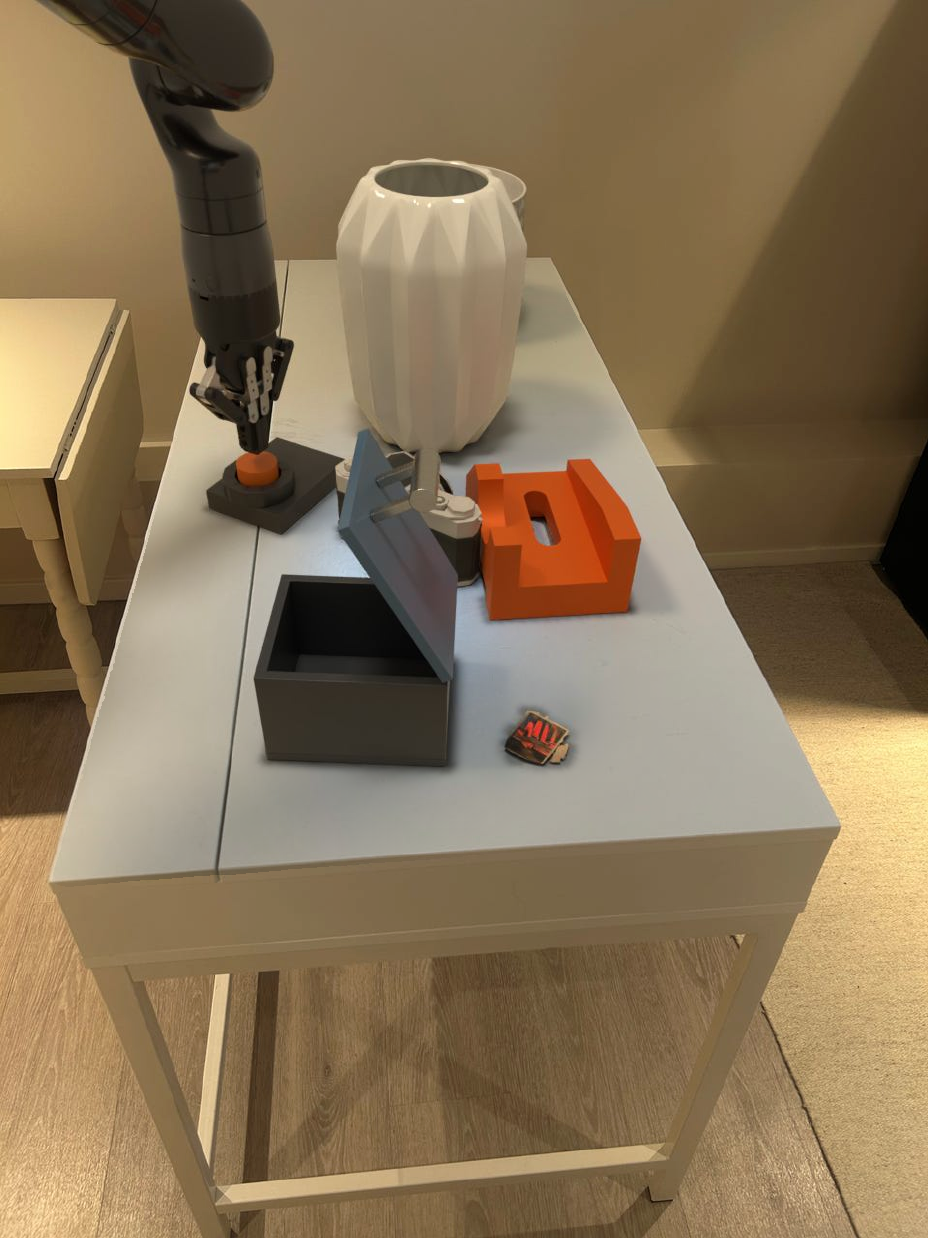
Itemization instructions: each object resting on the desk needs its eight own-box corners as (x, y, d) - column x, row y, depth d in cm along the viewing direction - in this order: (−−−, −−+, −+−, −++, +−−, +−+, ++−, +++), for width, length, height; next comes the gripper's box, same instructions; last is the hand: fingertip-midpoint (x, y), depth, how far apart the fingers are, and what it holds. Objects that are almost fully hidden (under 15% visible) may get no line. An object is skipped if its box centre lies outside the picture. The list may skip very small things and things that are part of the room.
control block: (278, 537, 92) (274, 503, 89) (205, 510, 95) (199, 477, 92) (347, 476, 101) (345, 444, 98) (278, 454, 103) (275, 421, 101)
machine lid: (337, 530, 57) (416, 499, 55) (358, 431, 65) (426, 402, 64) (442, 683, 65) (513, 660, 64) (449, 577, 74) (511, 555, 72)
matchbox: (501, 754, 72) (501, 750, 72) (520, 708, 76) (521, 704, 75) (559, 771, 71) (560, 767, 71) (576, 724, 75) (577, 720, 74)
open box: (266, 759, 71) (253, 678, 65) (291, 654, 80) (281, 573, 74) (445, 766, 71) (447, 686, 65) (451, 660, 80) (453, 580, 74)
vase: (369, 487, 99) (356, 220, 81) (329, 400, 113) (311, 155, 95) (539, 460, 104) (564, 202, 86) (481, 379, 118) (492, 143, 99)
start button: (262, 492, 92) (260, 476, 90) (229, 480, 93) (227, 465, 92) (286, 472, 94) (285, 457, 93) (254, 461, 96) (252, 446, 94)
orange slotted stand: (627, 611, 85) (641, 538, 80) (489, 620, 84) (494, 545, 78) (584, 499, 99) (594, 429, 93) (465, 505, 97) (467, 434, 92)
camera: (510, 550, 92) (517, 462, 85) (463, 597, 86) (467, 507, 79) (379, 497, 98) (376, 411, 91) (327, 537, 92) (319, 449, 86)
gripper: (243, 241, 86) (264, 410, 97) (143, 291, 77) (180, 471, 88) (311, 258, 83) (325, 429, 95) (216, 311, 74) (244, 494, 86)
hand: (255, 449), depth 92 cm, fingers closed
